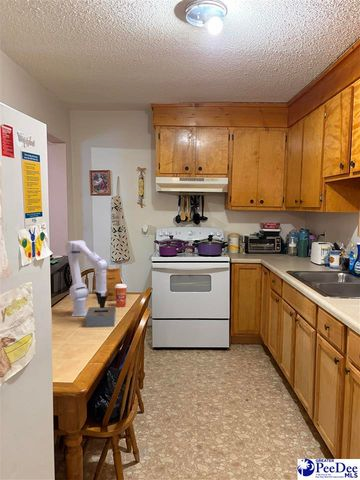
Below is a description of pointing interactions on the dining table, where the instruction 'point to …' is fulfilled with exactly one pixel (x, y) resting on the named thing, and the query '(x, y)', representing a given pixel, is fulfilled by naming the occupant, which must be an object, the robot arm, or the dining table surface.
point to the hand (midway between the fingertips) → (101, 306)
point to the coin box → (100, 317)
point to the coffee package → (112, 283)
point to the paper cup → (121, 295)
